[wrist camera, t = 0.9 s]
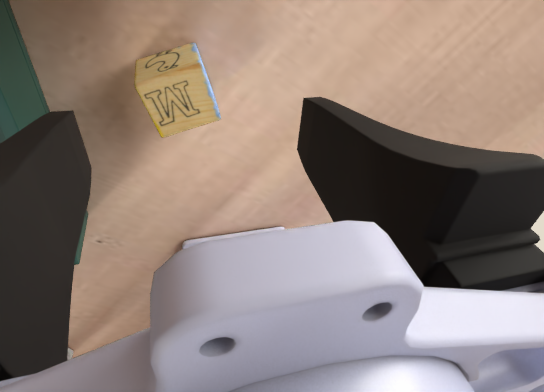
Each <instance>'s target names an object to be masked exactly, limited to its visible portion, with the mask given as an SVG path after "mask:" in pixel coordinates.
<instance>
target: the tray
mask: <svg viewBox="0 0 544 392" xmlns="http://www.w3.org/2000/svg"><path fill="white" fill-rule="evenodd" d="M49 112H50V111H49V108H48V105H47V103H46V100H45V97H44V95H43V92H42V89H41V87H40V84H39V81H38V79H37V76H36V73H35V71H34V68H33V65H32V63H31V60H30V57H29V55H28V52H27V49H26V47H25V44H24V41H23V38H22V36H21V33H20V30H19V28H18V25H17V22H16V20H15V17H14V14H13V12H12V9H11V6H10V4H9V1H8V0H0V143H2V142H3V141H5V140H6V139H8V138H9V137H11V136H12V135H14V134H15V133H17V132H18V131H20V130H21V129H23V128H24V127H26V126H27V125H29V124H30V123H32V122H33V121H35V120H36V119H38V118H39V117H41V116H43V115H45V114H47V113H49ZM87 219H88V212H87V210H86V214H85V218H84V222H83V226H82V230H81V235H80V239H79V243H78V247H77V251H76V257H75V262H74V265H76V264H79V262H80V257H81V252H82V246H83V241H84V235H85V230H86V224H87Z"/></svg>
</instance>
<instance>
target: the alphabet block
mask: <svg viewBox="0 0 544 392" xmlns="http://www.w3.org/2000/svg"><path fill="white" fill-rule="evenodd" d="M134 84H135V88H136V90H137V92H138V94H139V96H140V97H141V99H142V102H143V104H144V105H145V107H146V109H147V111H148V113H149V115H150V116H151V118H152V121H153V122H154V124H155V126H156V128H157V130H158V132H159V134H160V136H161V137H162V138H164V137H168V136H171V135H174V134H177V133H180V132H183V131H186V130H189V129H192V128H195V127H199V126H202V125H205V124H208V123H211V122H215V121H218V120H220V119H221V116H220V113H219V109H218V105H217V102H216V99H215V96H214V93H213V90H212V87H211V84H210V82H209V79H208V76H207V73H206V70H205V67H204V65H203V62H202V59H201V56H200V54H199V51H198V48H197V45H196V43H190V44H187V45H183V46H180V47H177V48H174V49H171V50H167V51H163V52H161V53H158V54H154V55H151V56H148V57H145V58H141V59H138V60H136V66H135V81H134Z"/></svg>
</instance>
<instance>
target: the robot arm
mask: <svg viewBox="0 0 544 392" xmlns="http://www.w3.org/2000/svg"><path fill="white" fill-rule="evenodd" d="M297 150H298V153H299V156H300V159H301V162H302V164H303V167H304V169H305V172H306V173H307V175H308V177H309V179H310V181H311V182H312V184H313V186H314V188H315V190H316V191H317V193H318V195H319V197H320V198H321V200H322V202H323V204H324V205H325V207H326V209H327V211H328V212H329V214H330V216H331V218H332V220H333V222H332V223H325V224H318V225H311V226H305V227H298V228H291V229H285V228H284V227H274V228H267V229H260V230H254V231H247V232H240V233H233V234H226V235H220V236H213V237H206V238H199V239H192V240H187V241H185V242H183V244H182V250H180V251H178V252H176V253H175V254H174V255H173V256H172V257H171V258H170V259H169V260H167V261H166V262H165V263H164V264H163V265H162V266H161V267H160V268H158V269H157V270H156V271H155V272H154V276H153V281H152V287H151V292H150V327H149V328H147V329H144V330H142V331H139V332H137V333H134V334H132V335H130V336H127V337H125V338H122V339H120V340H117V341H115V342H112V343H110V344H107V345H105V346H102V347H100V348H97V349H95V350H92V351H90V352H87V353H85V354H82V355H80V356H78V357H75V358H73V359H70V360H68V361H67V355H68V335H69V317H70V304H71V291H72V281H73V271H74V262H75V257H76V251H77V247H78V243H79V239H80V235H81V230H82V226H83V222H84V218H85V214H86V209H87V205H88V201H89V196H90V187H91V165H90V162H89V159H88V156H87V152H86V149H85V146H84V143H83V140H82V137H81V134H80V131H79V128H78V125H77V122H76V118H75V115H74V112H73V111H58V112H49V113H47V114H45V115H43V116H41V117H39V118H38V119H36V120H35V121H33V122H32V123H30V124H29V125H27V126H26V127H24V128H23V129H21V130H20V131H18V132H17V133H15V134H14V135H12V136H11V137H9V138H8V139H6V140H5V141H3V142H2V143H0V392H544V253H543V252H542V251H541V250H540V249H539V248H538V247H537V246H536V245H535V243H538V241H539V240H540V238H539V236H538V235H537V234H536V233H535V232H534V231H532V230H531V229H530V228H531V227H532V226H533V224H534V223H535V222H536V220H537V219H538V218H539V216H540V215H541V214H542V212H543V211H544V159H542V158H541V157H539V156H537V155H533V154H524V153H512V152H501V151H491V150H483V149H477V148H470V147H464V146H458V145H453V144H448V143H444V142H440V141H435V140H431V139H427V138H423V137H420V136H416V135H413V134H410V133H407V132H404V131H401V130H398V129H395V128H392V127H390V126H387V125H385V124H382V123H380V122H377V121H375V120H373V119H370V118H368V117H366V116H364V115H362V114H359V113H357V112H355V111H353V110H351V109H349V108H347V107H344V106H342V105H340V104H338V103H336V102H333V101H331V100H328V99H325V98H322V97H313V98H304V100H303V107H302V115H301V123H300V131H299V139H298V146H297Z"/></svg>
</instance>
